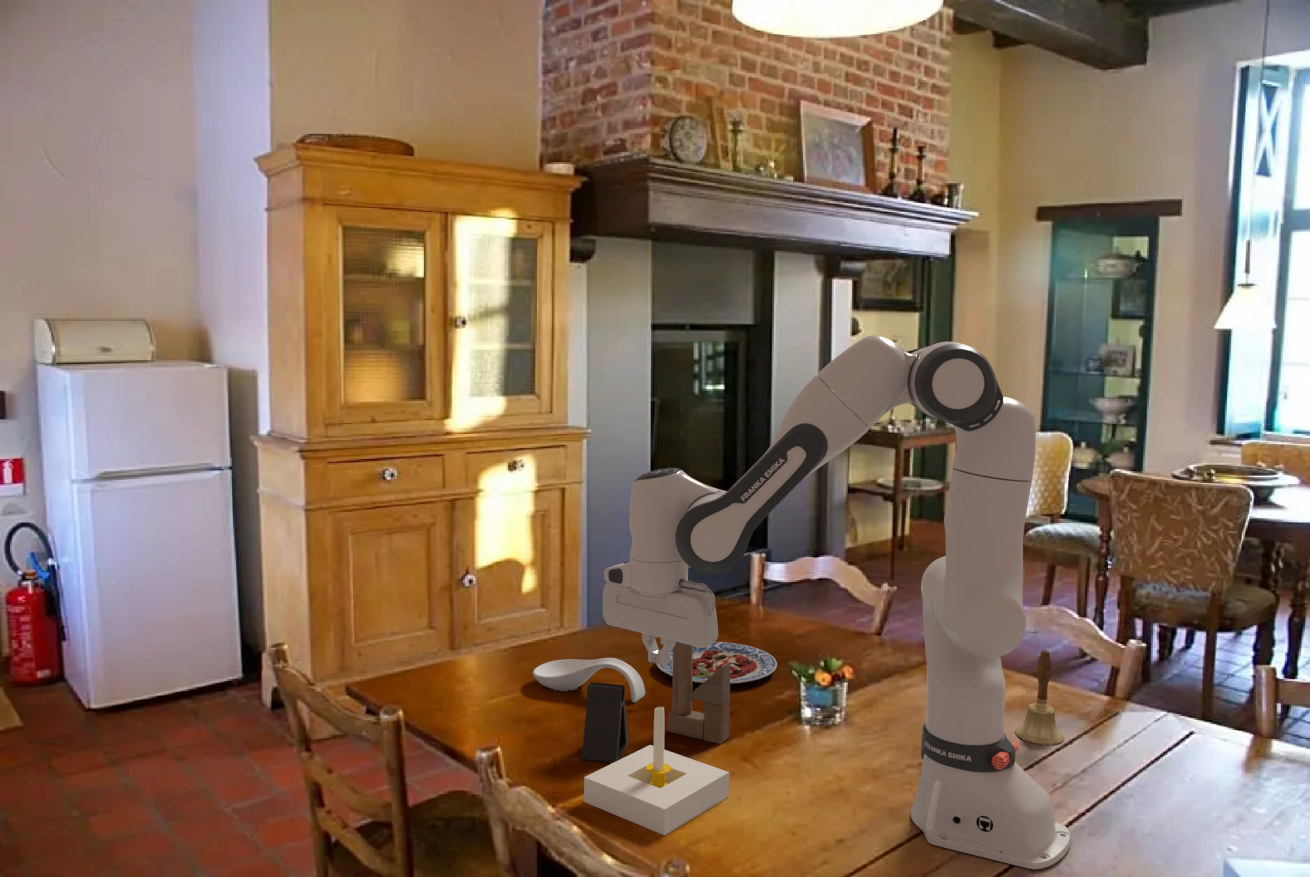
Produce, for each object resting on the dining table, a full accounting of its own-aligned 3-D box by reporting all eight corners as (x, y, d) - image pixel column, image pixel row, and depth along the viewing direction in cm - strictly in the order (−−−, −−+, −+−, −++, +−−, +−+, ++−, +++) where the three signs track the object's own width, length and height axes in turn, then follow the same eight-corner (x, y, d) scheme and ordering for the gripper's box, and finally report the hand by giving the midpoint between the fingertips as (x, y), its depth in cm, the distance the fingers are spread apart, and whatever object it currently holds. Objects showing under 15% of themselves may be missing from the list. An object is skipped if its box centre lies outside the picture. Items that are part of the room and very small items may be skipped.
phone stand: (615, 764, 173) (616, 695, 172) (581, 760, 174) (581, 692, 173) (629, 742, 182) (629, 677, 180) (596, 739, 183) (596, 674, 182)
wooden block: (721, 745, 181) (722, 646, 179) (667, 732, 186) (668, 636, 184) (729, 738, 184) (731, 640, 182) (677, 725, 190) (678, 630, 187)
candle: (634, 801, 160) (635, 705, 158) (656, 790, 164) (657, 695, 162) (660, 812, 157) (661, 713, 155) (681, 800, 161) (683, 703, 159)
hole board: (728, 796, 162) (729, 772, 161) (664, 835, 150) (664, 809, 149) (650, 767, 172) (650, 744, 171) (584, 802, 160) (584, 777, 159)
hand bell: (1071, 736, 187) (1076, 650, 185) (1052, 749, 181) (1058, 661, 179) (1026, 723, 192) (1031, 640, 190) (1007, 736, 186) (1011, 650, 184)
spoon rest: (522, 691, 207) (522, 656, 206) (552, 672, 218) (552, 639, 217) (628, 710, 197) (628, 674, 196) (654, 690, 208) (654, 656, 207)
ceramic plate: (698, 644, 238) (698, 631, 237) (798, 667, 223) (798, 653, 222) (631, 674, 217) (631, 661, 217) (736, 702, 202) (736, 687, 202)
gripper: (726, 581, 152) (726, 672, 154) (622, 561, 165) (623, 645, 167) (701, 590, 147) (701, 683, 149) (595, 568, 160) (596, 655, 162)
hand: (659, 663), depth 158 cm, fingers closed
